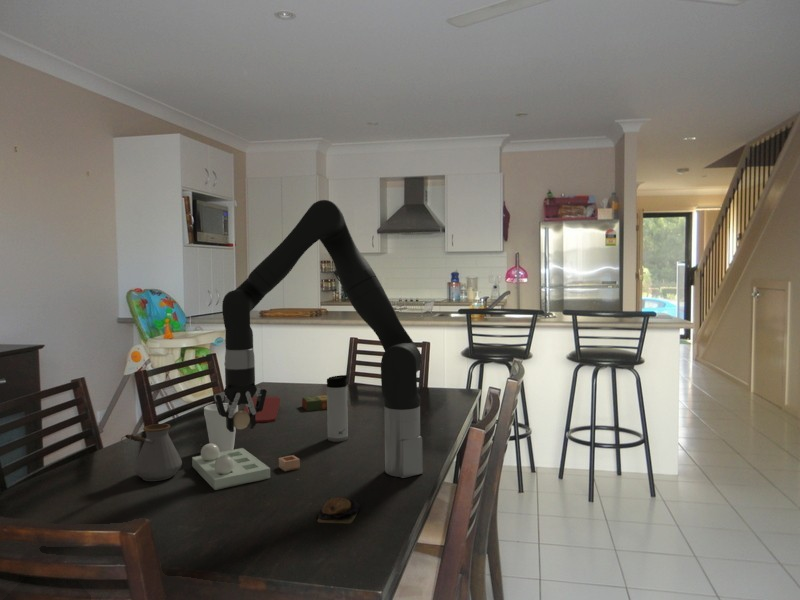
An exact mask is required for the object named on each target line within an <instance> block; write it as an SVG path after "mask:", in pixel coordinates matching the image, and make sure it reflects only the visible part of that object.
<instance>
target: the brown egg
mask: <svg viewBox="0 0 800 600" xmlns="http://www.w3.org/2000/svg"><path fill="white" fill-rule="evenodd" d="M233 418H234V427H235V428H236V430H244V429H245V428H247V427H248V425H249V423H250V416H249V414H248V413H247V412H245V411H243V410H238V411H237V412H236V413H234V414H233Z"/></svg>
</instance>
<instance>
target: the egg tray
mask: <svg viewBox="0 0 800 600" xmlns="http://www.w3.org/2000/svg"><path fill="white" fill-rule="evenodd" d="M222 455H228V456H230V457H231V458H232V459H233V461H234V468H233V470H232V471H231V472H230V473H228V474H223V475H220V474H218V473H217V472H216V471H215V468H214V463H215V461H216V460H212V461H205V460H203V459H202V457H201V455H196V456H192V457H191V463H192V464H191V465H192V466H191V467H192V468H193V469H194V470H195V471H196V472H197V473H198V474H199V475H200V477H202V479H204V480H205V482H207V484H208V485H209V486H210V487H211V488H212V489H213V490H214V491H218V490H222V489H227V488H230V487H235V486H236V487H237V486H240V485H245V484H250V483H254V482H259V481H265V480H268V479H271V467H269V466H268V465H267V464H265V463H264V462H263V461H261V460H260V459H258V458H257V457H256V456H254V454H252V453H250V452H249V451H247V450H246V449H245V448H244V447H240V448H235V449H233V450H229V451H224V452H220V453H219V456H218V457H220V456H222Z"/></svg>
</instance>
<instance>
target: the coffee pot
mask: <svg viewBox="0 0 800 600" xmlns="http://www.w3.org/2000/svg"><path fill="white" fill-rule="evenodd" d="M170 428H171V424H168V423H156V424H155V423H154V424H149V425H146V426H144V427H143V429H142V430H143V432H145V434H146V437H142V436H139V435H134V434H125V435H124V436H123V437H121V439H120V442H121V443H122V444H125V445H127V444H129V443H131V441H132V440H133V441H134V442H139V443H143V444H142V446H141V449H140V452H139V455H138V456H137V459H136V462H135V464H134V467H133V470H134V472H135V474H136V475H137V476H138V477H140V478H142V480H143V481H146V482H159V481H164V480H167V479H170V478H173V477H174V476H175V474H176V473H177V472H178V471H180V469H181V468H182V465H183V461H182V459H181V456H180V454H179V452H178V450H177V448H176V447H175V445H174V443H173V441H172V439H171V437H170V436H169V429H170ZM123 438H126V439H129V441H128V442H125V443H124V442H123Z"/></svg>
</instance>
